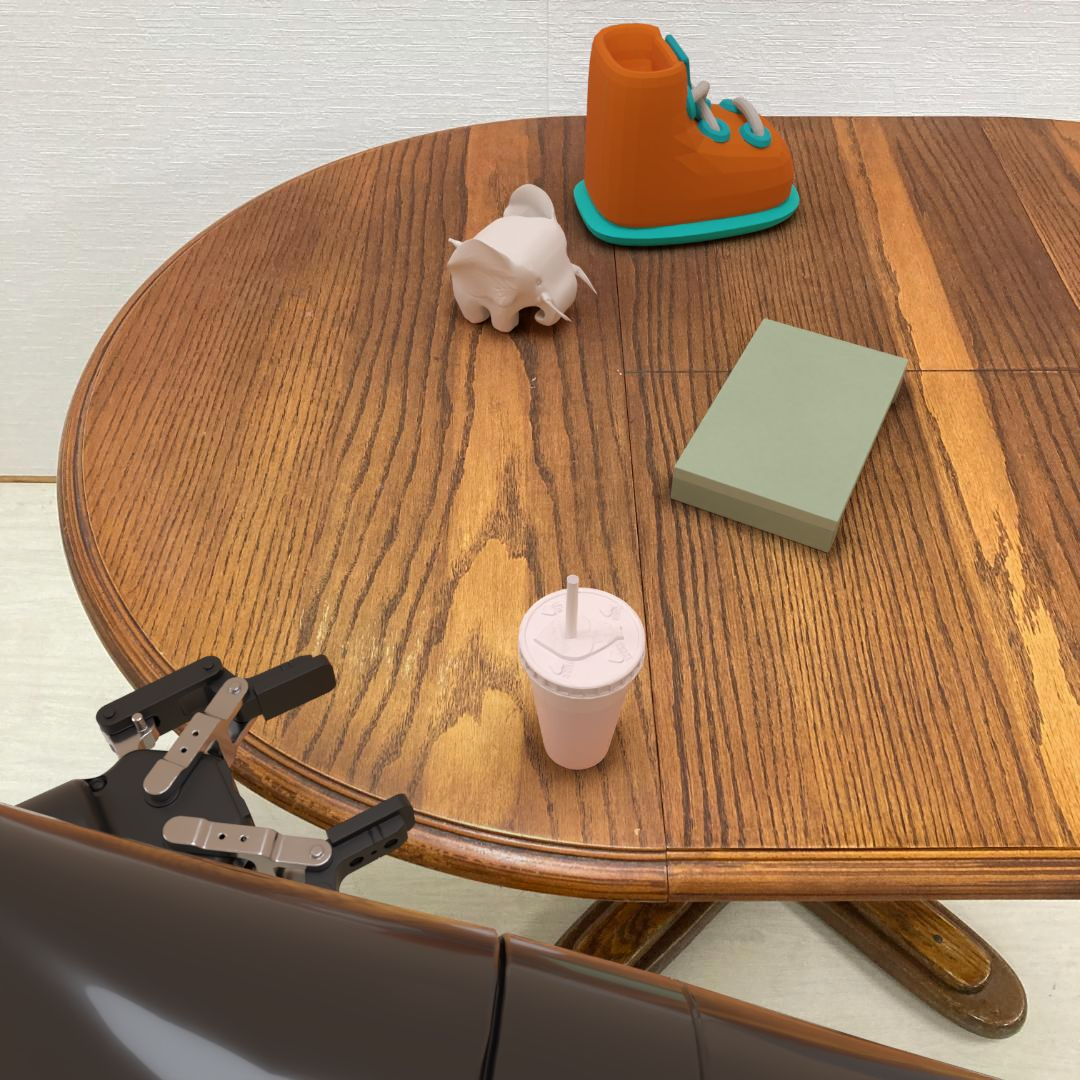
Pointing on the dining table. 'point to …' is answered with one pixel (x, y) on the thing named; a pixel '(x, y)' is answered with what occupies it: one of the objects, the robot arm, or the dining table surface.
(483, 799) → the dining table surface
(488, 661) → the dining table surface
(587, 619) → the smoothie
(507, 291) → the elephant figurine
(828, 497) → the shelf
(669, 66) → the toy shoe
